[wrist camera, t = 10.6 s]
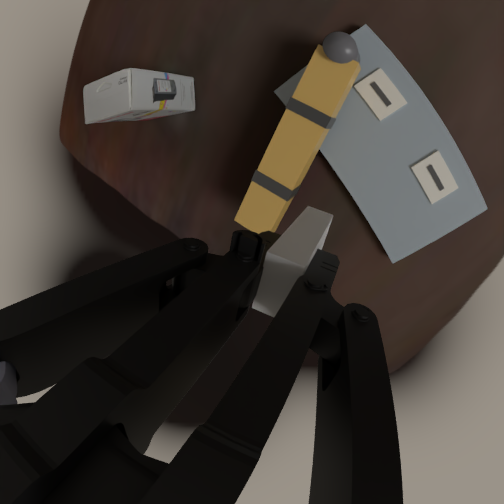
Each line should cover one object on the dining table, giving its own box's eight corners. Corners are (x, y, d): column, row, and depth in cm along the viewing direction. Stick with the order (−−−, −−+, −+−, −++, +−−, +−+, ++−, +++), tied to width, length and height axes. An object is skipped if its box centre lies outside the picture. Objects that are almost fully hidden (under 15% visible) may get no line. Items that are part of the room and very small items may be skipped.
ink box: (148, 120, 38) (82, 127, 29) (145, 87, 36) (80, 87, 27) (197, 111, 35) (132, 112, 25) (195, 74, 33) (129, 65, 23)
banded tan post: (332, 38, 24) (324, 24, 20) (370, 55, 23) (368, 43, 19) (247, 210, 35) (229, 221, 31) (278, 229, 35) (263, 243, 31)
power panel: (278, 92, 30) (272, 91, 29) (366, 28, 23) (365, 23, 22) (392, 258, 32) (392, 265, 31) (483, 205, 25) (488, 209, 24)
